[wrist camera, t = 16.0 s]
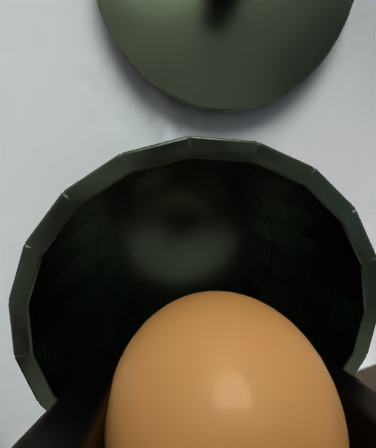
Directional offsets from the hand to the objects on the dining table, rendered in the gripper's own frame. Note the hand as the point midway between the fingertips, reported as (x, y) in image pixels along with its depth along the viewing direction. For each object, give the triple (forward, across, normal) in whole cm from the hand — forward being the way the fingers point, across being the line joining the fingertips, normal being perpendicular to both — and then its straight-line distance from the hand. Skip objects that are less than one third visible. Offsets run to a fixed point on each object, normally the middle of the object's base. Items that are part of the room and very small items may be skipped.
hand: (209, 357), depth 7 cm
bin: (+9, 0, 0) cm, 9 cm away
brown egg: (-2, 0, 0) cm, 2 cm away
